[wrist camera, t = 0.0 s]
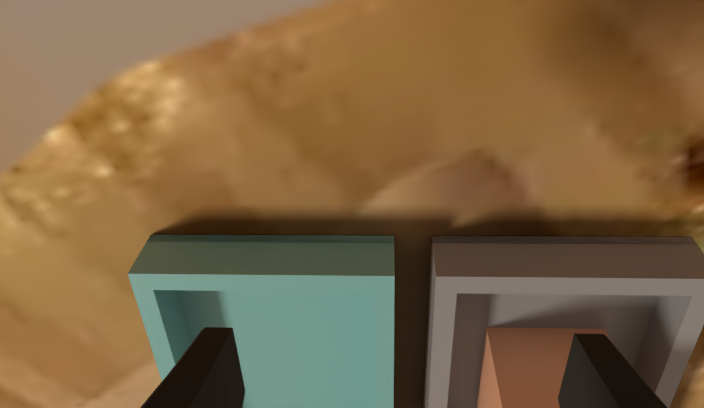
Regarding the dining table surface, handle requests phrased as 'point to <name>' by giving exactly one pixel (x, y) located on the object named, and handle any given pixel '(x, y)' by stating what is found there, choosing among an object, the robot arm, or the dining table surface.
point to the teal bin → (278, 312)
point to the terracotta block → (525, 366)
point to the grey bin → (562, 302)
